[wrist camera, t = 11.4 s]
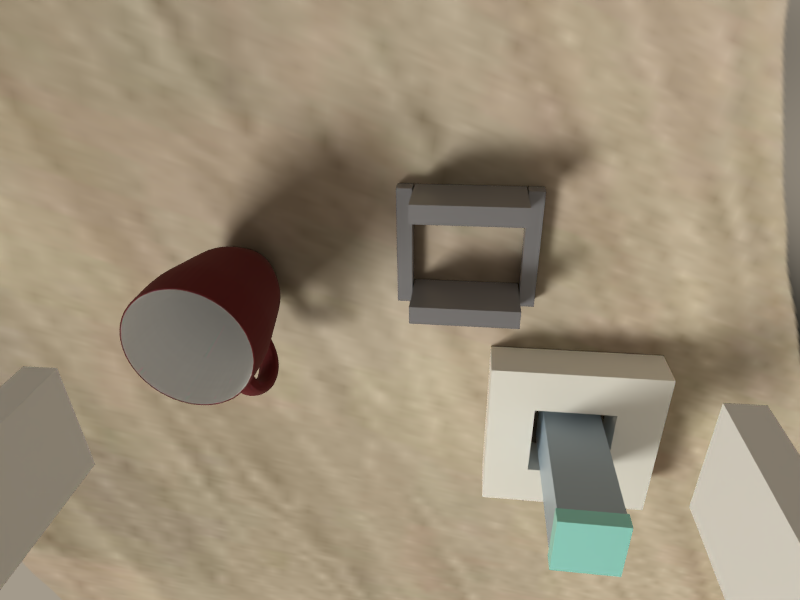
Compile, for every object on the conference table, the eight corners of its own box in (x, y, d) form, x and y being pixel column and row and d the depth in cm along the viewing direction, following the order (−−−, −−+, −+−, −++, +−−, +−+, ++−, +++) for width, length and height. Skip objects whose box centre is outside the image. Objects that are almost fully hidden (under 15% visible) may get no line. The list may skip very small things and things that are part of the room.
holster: (397, 183, 38) (389, 204, 34) (544, 186, 36) (550, 208, 33) (399, 293, 41) (392, 322, 38) (532, 299, 40) (537, 329, 37)
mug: (342, 322, 43) (307, 409, 34) (257, 361, 46) (204, 450, 37) (258, 200, 39) (194, 263, 31) (171, 250, 42) (89, 322, 33)
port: (490, 346, 43) (491, 370, 40) (663, 355, 41) (675, 381, 39) (482, 468, 48) (482, 496, 46) (633, 480, 47) (642, 509, 44)
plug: (539, 392, 44) (557, 521, 34) (597, 396, 44) (633, 528, 33) (534, 435, 46) (549, 569, 36) (589, 439, 46) (620, 576, 35)
